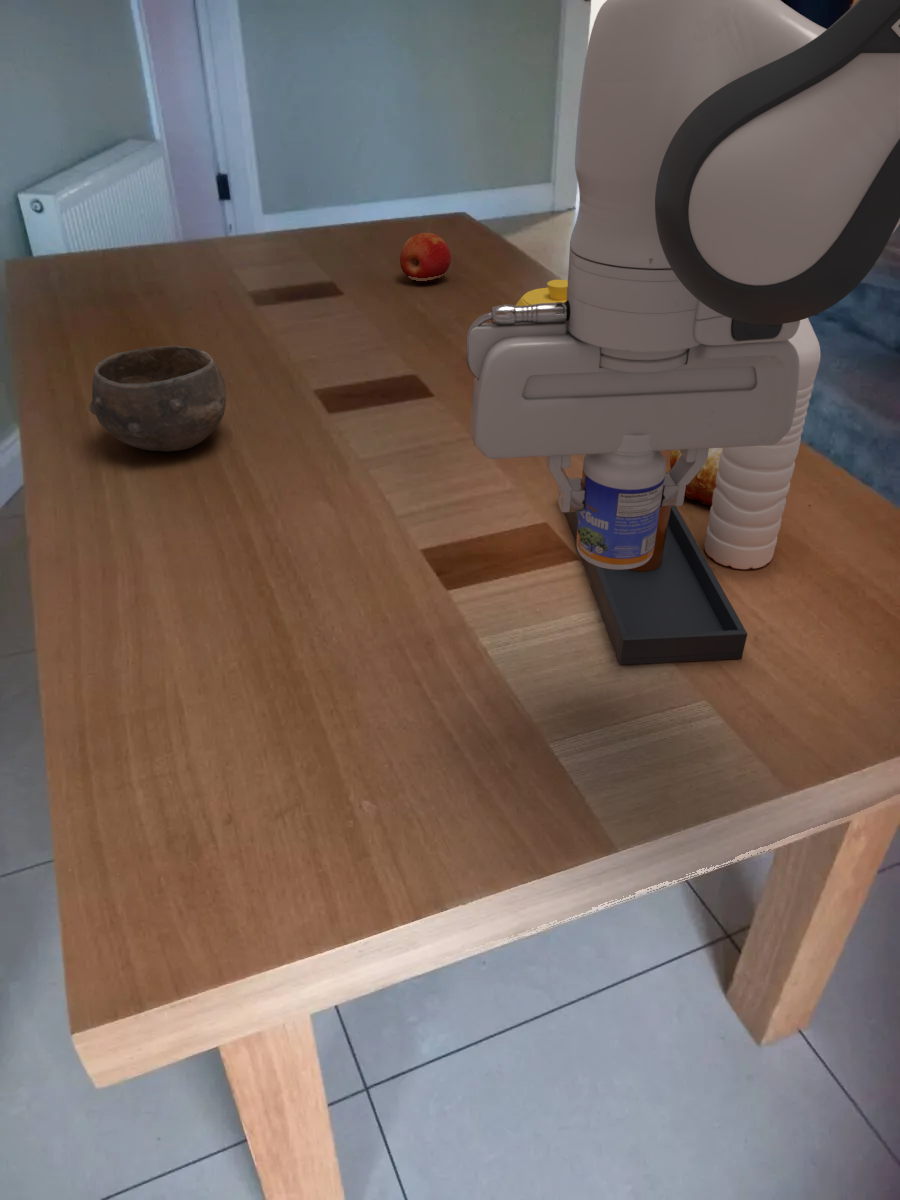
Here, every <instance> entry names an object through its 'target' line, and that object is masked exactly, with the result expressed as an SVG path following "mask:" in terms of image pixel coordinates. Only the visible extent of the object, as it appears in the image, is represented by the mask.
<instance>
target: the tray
mask: <svg viewBox="0 0 900 1200" xmlns="http://www.w3.org/2000/svg"><path fill="white" fill-rule="evenodd" d="M580 479H581V481H582V478H580ZM564 513H565V515H566V518H567V521H568V524H569V527H570V529H571V532H572V536H573V538H574V541H575V544H576V545H577V528H578V517H579V511H578V512H564ZM580 558H581V560H582V563H583V565H584V568H585V572H586V574H587V577H588V579H589V583H590V585H591V588H592V590H593V595H594V597H595V599H596V602H597V605H598V608H599V611H600V613H601V616H602V619H603V621H604V624H605V627H606V630H607V633H608V637H609V638H610V641H611V645H612V646H613V649H614V653H615V655H616V658H617V660H618V663H619V664H618V665H620V666H624V665H644V664H661V663H664V664H665V663H680V662H681V663H682V662H683V663H684V662H701V661H702V662H703V661H717V660H718V661H720V660H721V661H722V660H738V659H739V660H740V659H743V654H744V650H745V648H746V647H745V646H746V642H747V638H748V632H747V629H745V627H744V625H743V623H742V621H741V620H740V617H739V616H738V613H737V612H736V611H735V609H734V606H733V605H732V603H731V602H730V599H729V598H728V596H727V594H726V593H725V591H724V590H723V587H722V586H721V584H720V582H719V581H718V578H717V576H716V575H715V573H714V571H713V569H712V568H711V566H710V564H709V562H708V561H707V558H706V557H705V555H704V554H703V552H702V550H701V548H700V547H699V544H698V543H697V541H696V539H695V537H694V536H693V534H692V532H691V530H690V529H689V527H688V525H687V523H686V521H685V519H684V517H683V516H682V514H681V512H680V510H679V509H678V506H672V507H671V509H670V515H669V521H668V528H667V534H666V540H665V547H664V553H663V560H662V564H661V565H660V566H659V567H658V568H657V569H655V570H652V571H646V572H638V571H632V570H629V569H623V570H614V569H607V568H602V567H599V566H596V565H593V564H591V563H589V562H588V561H586V560H585V559H584V558H583V557H582V556H581V555H580Z"/></svg>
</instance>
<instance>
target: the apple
mask: <svg viewBox="0 0 900 1200" xmlns="http://www.w3.org/2000/svg"><path fill="white" fill-rule="evenodd" d="M451 260H452V254H451V250H450V248H449V246H448V244H447V243H446V241H445V240H444V238H442V237H440V236H439V235H438V234H435V233H433V232H421V233H417V234H414V235H412V236H411V237H409V238H408V240H407V241H406V242H404V244H403V246H402V247H401V250H400V255H399V265H400V268H401V270H402V272H403V274H404V275H405V274H406V275H407V276H411V277H417V278H428V277H434V276H439V275H442V274H444V273H445V272H446V273H447V272H448V270H449V268H450V265H451V263H452V261H451ZM446 273H445V274H446ZM445 274H444V275H445ZM406 275H405V276H406ZM407 276H406V277H407ZM409 280H410V281H413V282H415V283H419V284H425V283H428V282H432V281H437V280H439V278H437V279H434V280H427V281H416V280H411V279H409Z"/></svg>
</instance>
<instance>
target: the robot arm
mask: <svg viewBox="0 0 900 1200" xmlns="http://www.w3.org/2000/svg"><path fill="white" fill-rule="evenodd" d="M580 88H581V89H580V97H579V104H578V116H577V125H576V137H575V152H574V153H575V154H574V170H575V175H576V180H577V185H578V190H579V191H578V193H579V202H578V212H577V217H576V220H575V223H574V226H573V229H572V232H571V235H570V240H569V253H568V271H567V272H568V273H567V275H568V276H567V281H568V287H567V301H566V302H556V303H540V304H536V305H535V304H533V305H527V306H516V305H515V304H499V305H495V306H493V307H492V308H491V311H490V312H487V313H484V314H482V315H480V316H479V317H477V318H476V319H475V320H474V321H473V322H472V324H471V325H470V326H469V328H468V331H467V334H466V341H465V342H466V364H467V367H468V370H469V371H470V373H471V374H472V376H473V377H474V379H473V387H472V395H471V405H470V432H471V439H472V443H473V445H474V446H475V448H476V450H478V451H479V453H481V455H482V456H484V457H485V458H486V459H490V460H501V459H518V458H519V459H521V458H522V459H523V458H540V457H541V458H542V457H543V458H544V461H545V463H546V465H547V468H548V471H549V472H550V474H551V476H552V478H553V479H554V481H555V482H556V484H557V486H558V487H557V488H558V489H557V504H558V507H559V510H560V512H561V513H565V512H578V511H583V510H584V503H583V501H584V499H585V488H584V486H583V485H582V481H581V479H582V478H581V477H568V475H567V473H566V471H565V470H567V469H570V468H571V462H572V461H571V459H572V456H579V455H581V456H583V455H586V454H604V453H616V452H618V451H617V449H618V448H619V447H620V446H621V444H622V438H623V436H624V435H636V434H649V435H650V445H651V447H652V450H651V451H661V452H663V451H673V450H679V451H680V452H681V454H682V455H681V456H680V458H679V459H678V461H677V462H676V463H675V465H674V466H673V468H672V469H671V468H670V471H669V472H665V479H664V486H663V492H662V499H661V505H660V507H672V506H676V507H683V505H684V502H685V501H684V500H685V489H686V485H688V484H689V483H690V482H691V480H692V479H693V478H694V477H695V476H696V474H697V473H698V472H699V471H700V470H701V468H702V467H703V466H704V465H705V463H706V462H707V457H708V451H709V448H726V447H746V446H768V445H774V444H776V443H777V442H779V441H780V440H781V439H782V438H783V437H784V436H785V435H786V434H787V433H788V432H789V430H790V428H791V425H792V422H793V418H794V413H795V407H796V401H797V393H798V384H799V368H800V364H799V356H798V353H797V350H796V349H795V347H794V346H793V345H792V344H791V343H790V342H789V341H788V339H790V338H792V337H793V336H794V335H795V334H796V332H797V330H798V327H799V324H800V320H803V319H806V318H808V319H809V318H811V317H813V316H816V315H818V314H820V313H822V312H824V311H826V310H828V309H830V308H832V307H833V306H835V305H836V304H838V303H839V302H840V301H842V300H843V299H844V298H846V297H847V296H848V295H849V294H850V293H851V292H852V291H854V290H855V289H856V288H857V287H858V286H859V285H860V284H861V282H862V281H863V280H864V279H865V278H866V276H867V275H868V274H869V273H870V271H871V270H872V269H873V267H874V266H875V265H876V263H877V262H878V260H879V258H880V257H881V255H882V253H883V252H884V250H885V248H886V246H888V245H887V244H888V243H889V241H890V239H891V236H892V235H893V234H894V233H895V231H897V229H898V227H899V226H900V0H857V1H856V2H855V3H854V4H853V5H852V6H851V7H850V8H848V10H847V11H846V12H844V14H843V15H841V16H840V17H839V18H838V19H837V20H836V21H835V22H834V23H833V24H831V25H830V26H829V27H828V28H825V27H823V26H821V25H819V24H818V23H815V22H814V21H812V20H810V19H809V18H807V17H806V16H804V15H802V14H800V13H799V12H798V11H796V10H795V9H793V8H792V7H790V6H789V5H788V4H786V3H784V2H783V1H782V0H605V2H603V3H602V5H601V6H600V8H599V10H598V11H597V14H596V16H595V19H594V22H593V25H592V28H591V33H590V36H589V40H588V44H587V49H586V55H585V61H584V67H583V73H582V81H581V87H580ZM490 320H491V322H488V321H490ZM487 322H488V323H487Z"/></svg>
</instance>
